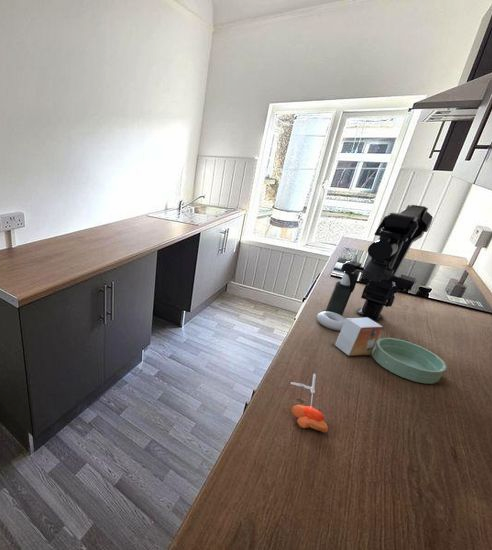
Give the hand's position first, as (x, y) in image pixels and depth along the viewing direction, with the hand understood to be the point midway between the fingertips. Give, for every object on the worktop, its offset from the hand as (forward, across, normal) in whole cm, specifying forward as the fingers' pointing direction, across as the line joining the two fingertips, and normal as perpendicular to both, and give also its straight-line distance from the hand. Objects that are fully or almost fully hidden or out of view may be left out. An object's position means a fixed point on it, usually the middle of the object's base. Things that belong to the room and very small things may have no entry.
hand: (367, 297), depth 100 cm
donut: (+13, -6, -3) cm, 15 cm away
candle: (+13, -8, +5) cm, 16 cm away
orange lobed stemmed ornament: (+13, +7, -56) cm, 58 cm away
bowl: (+13, +16, -10) cm, 23 cm away
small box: (+13, +4, -15) cm, 20 cm away
